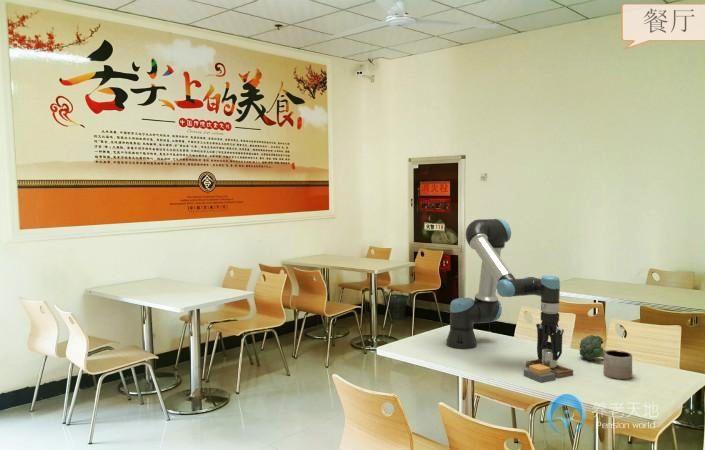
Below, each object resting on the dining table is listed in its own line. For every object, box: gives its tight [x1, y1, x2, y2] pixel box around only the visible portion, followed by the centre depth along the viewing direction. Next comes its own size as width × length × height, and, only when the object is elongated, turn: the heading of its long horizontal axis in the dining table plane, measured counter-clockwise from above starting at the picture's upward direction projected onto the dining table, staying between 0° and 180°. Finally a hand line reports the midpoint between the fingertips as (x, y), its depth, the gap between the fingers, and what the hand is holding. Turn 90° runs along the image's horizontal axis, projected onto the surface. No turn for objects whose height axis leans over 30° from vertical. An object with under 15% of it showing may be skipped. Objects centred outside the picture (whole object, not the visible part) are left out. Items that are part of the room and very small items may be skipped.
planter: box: [602, 349, 633, 381], centre depth 231 cm, size 11×11×10 cm
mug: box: [536, 341, 563, 363], centre depth 248 cm, size 8×12×10 cm
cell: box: [544, 349, 555, 371], centre depth 238 cm, size 4×4×9 cm
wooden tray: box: [525, 358, 574, 379], centre depth 238 cm, size 18×9×2 cm, turn 26°
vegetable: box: [579, 334, 608, 362], centre depth 254 cm, size 12×13×15 cm
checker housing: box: [523, 368, 557, 384], centre depth 229 cm, size 10×8×2 cm
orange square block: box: [528, 364, 550, 375], centre depth 229 cm, size 6×6×3 cm
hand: (549, 365), depth 238 cm, fingers closed on cell, 4 cm apart
